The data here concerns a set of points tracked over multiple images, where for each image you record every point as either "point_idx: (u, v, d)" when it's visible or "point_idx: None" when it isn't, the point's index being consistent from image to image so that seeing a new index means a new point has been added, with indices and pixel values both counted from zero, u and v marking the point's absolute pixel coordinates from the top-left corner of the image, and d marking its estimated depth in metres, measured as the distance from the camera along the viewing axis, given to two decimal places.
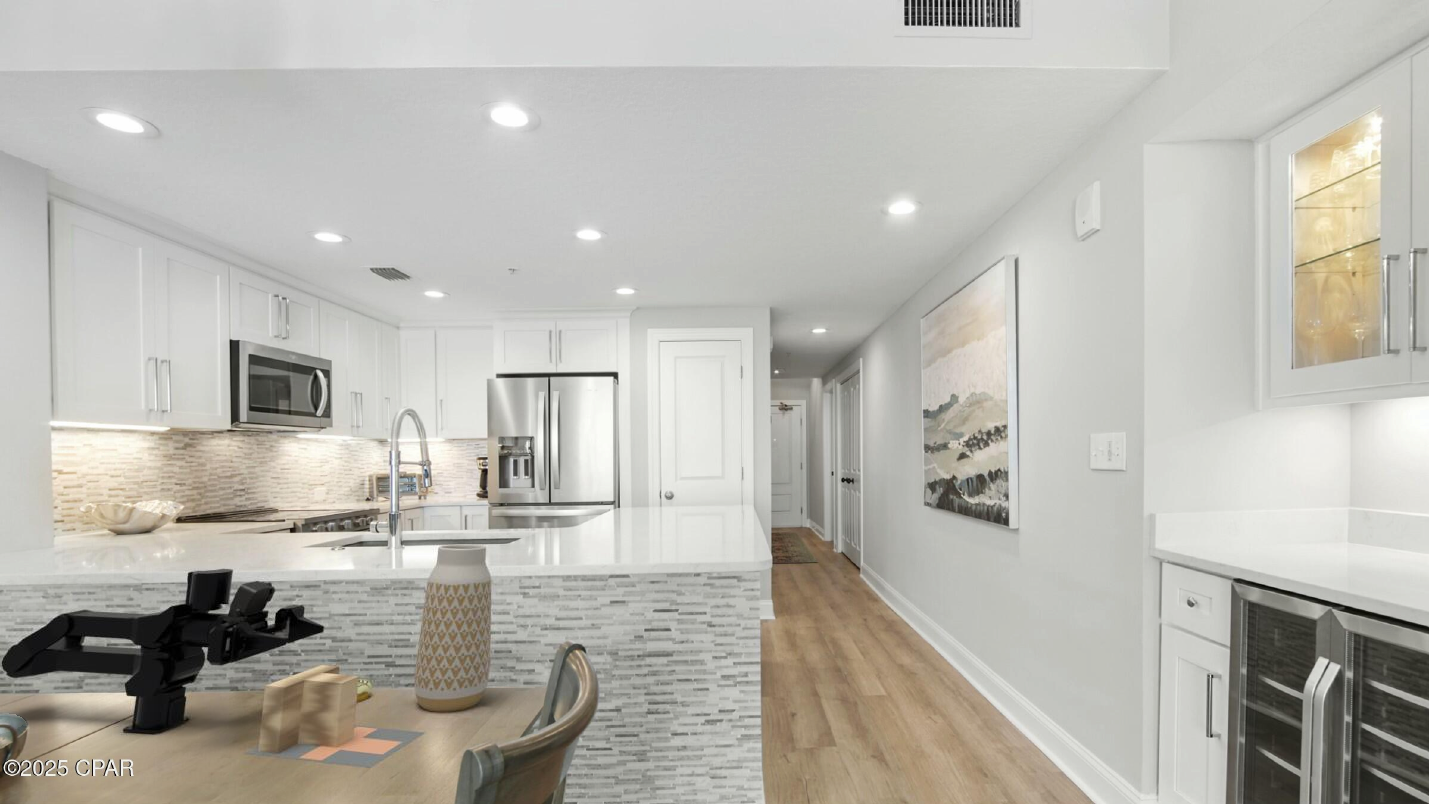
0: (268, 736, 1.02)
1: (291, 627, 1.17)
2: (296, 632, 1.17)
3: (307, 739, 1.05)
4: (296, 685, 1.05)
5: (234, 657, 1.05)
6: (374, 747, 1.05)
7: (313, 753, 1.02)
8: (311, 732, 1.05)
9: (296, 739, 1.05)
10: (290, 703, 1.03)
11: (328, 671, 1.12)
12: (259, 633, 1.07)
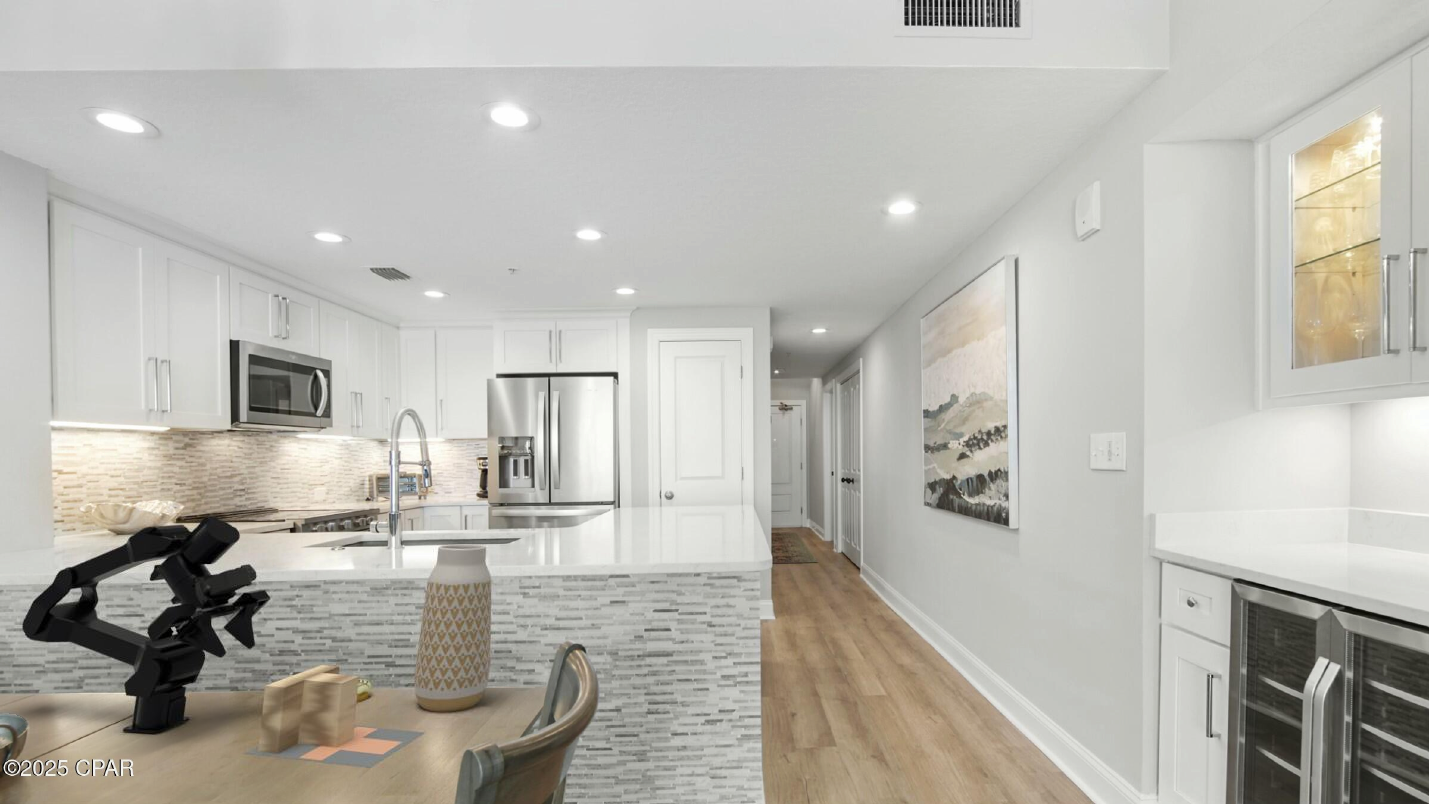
0: (268, 736, 1.02)
1: (235, 619, 1.16)
2: (234, 627, 1.15)
3: (307, 739, 1.05)
4: (296, 685, 1.05)
5: (178, 638, 1.07)
6: (374, 747, 1.05)
7: (313, 753, 1.02)
8: (311, 732, 1.05)
9: (296, 739, 1.05)
10: (290, 703, 1.03)
11: (328, 671, 1.12)
12: (211, 632, 1.08)
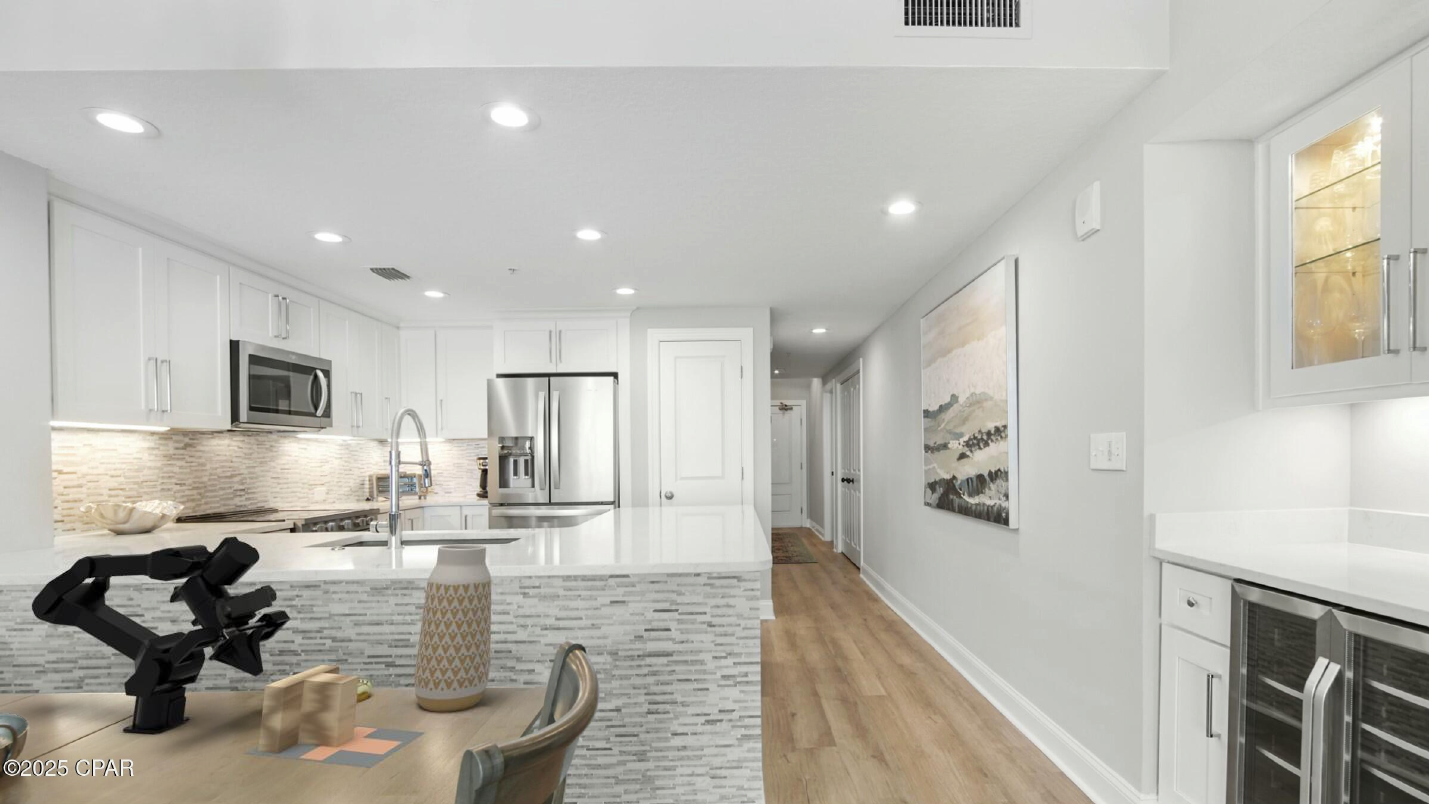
0: (268, 736, 1.02)
1: None
2: None
3: (307, 739, 1.05)
4: (296, 685, 1.05)
5: (214, 657, 1.08)
6: (374, 747, 1.05)
7: (313, 753, 1.02)
8: (311, 732, 1.05)
9: (296, 739, 1.05)
10: (290, 703, 1.03)
11: (328, 671, 1.12)
12: (246, 651, 1.10)
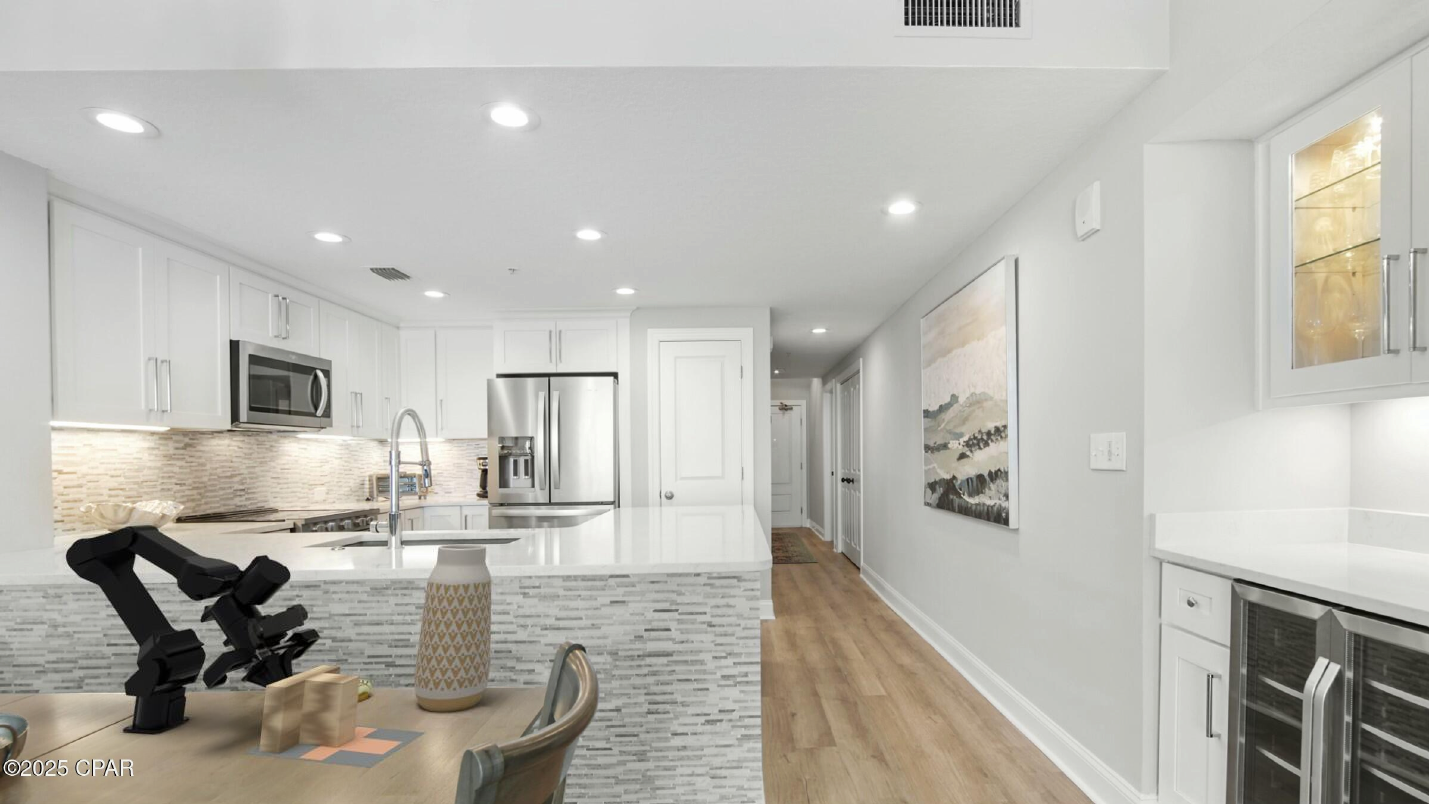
0: (269, 736, 1.02)
1: None
2: None
3: (309, 739, 1.05)
4: (297, 685, 1.05)
5: (247, 678, 1.07)
6: (374, 747, 1.05)
7: (313, 753, 1.02)
8: (312, 732, 1.05)
9: (297, 739, 1.05)
10: (291, 703, 1.03)
11: (329, 671, 1.12)
12: (279, 671, 1.08)
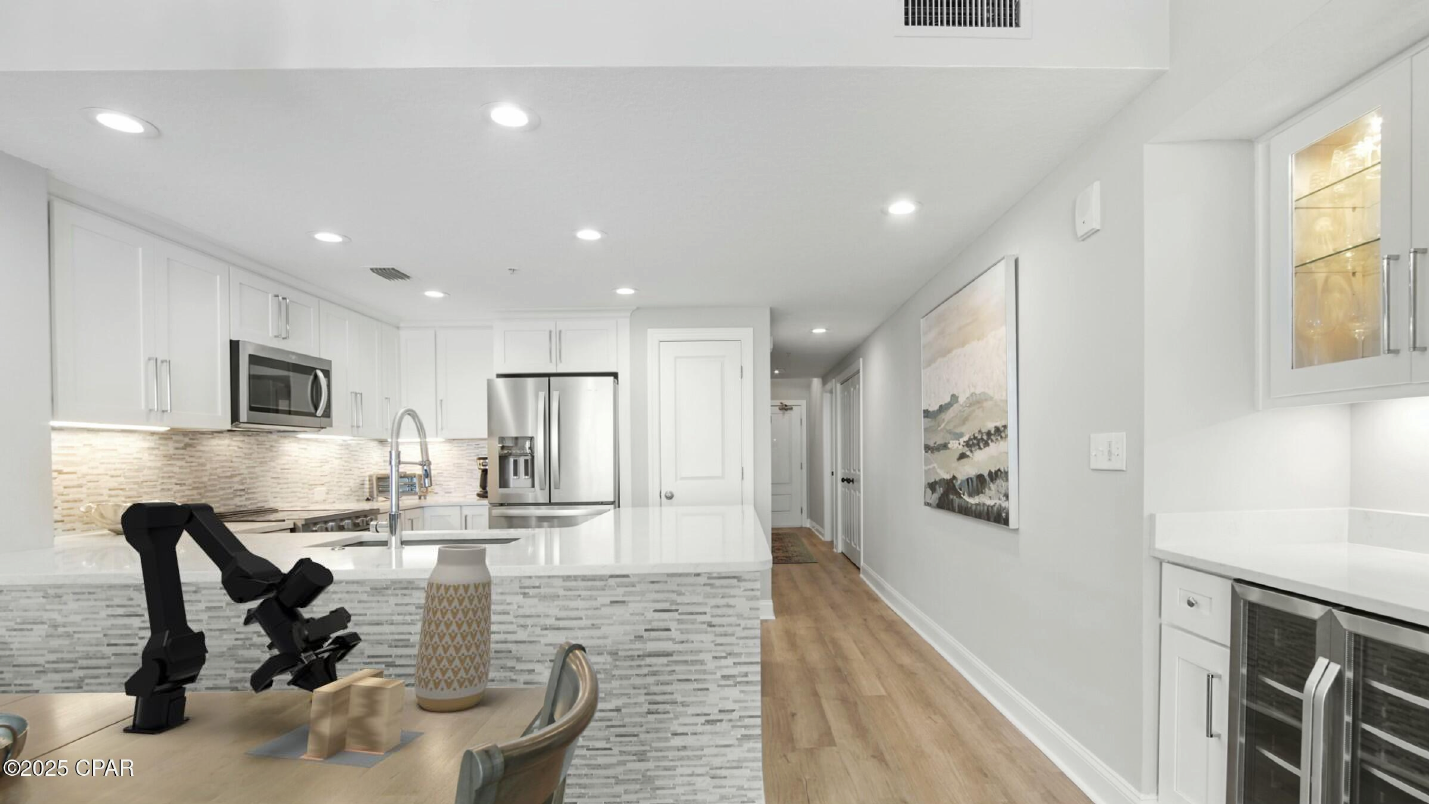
0: (317, 741, 1.00)
1: None
2: None
3: (355, 744, 1.03)
4: (344, 690, 1.03)
5: (292, 682, 1.05)
6: None
7: None
8: (358, 737, 1.04)
9: (344, 744, 1.03)
10: (338, 708, 1.02)
11: (373, 675, 1.10)
12: (324, 675, 1.07)
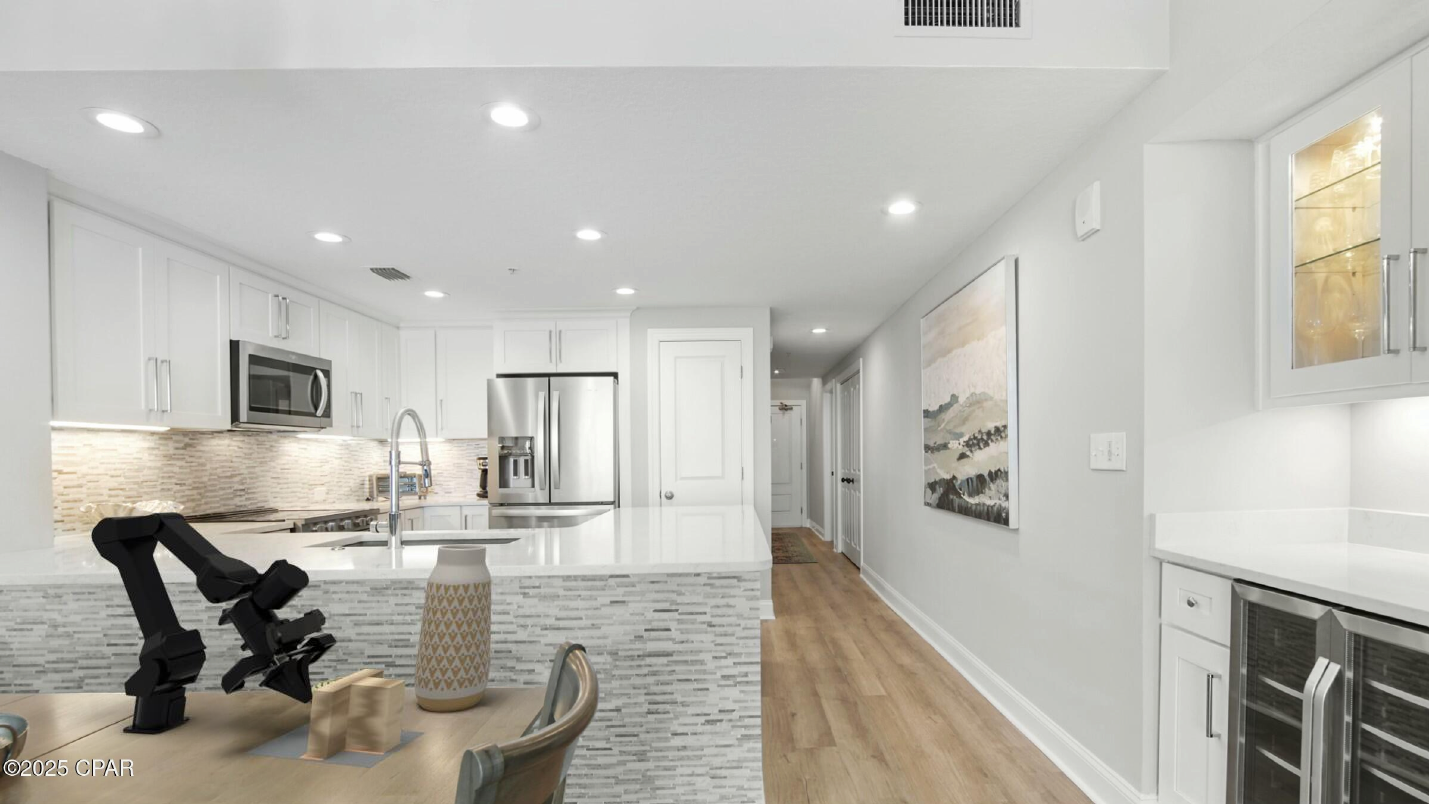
0: (317, 741, 1.00)
1: None
2: None
3: (355, 744, 1.03)
4: (344, 690, 1.03)
5: (265, 684, 1.06)
6: None
7: None
8: (358, 737, 1.04)
9: (344, 744, 1.03)
10: (338, 708, 1.02)
11: (373, 675, 1.10)
12: (296, 677, 1.08)
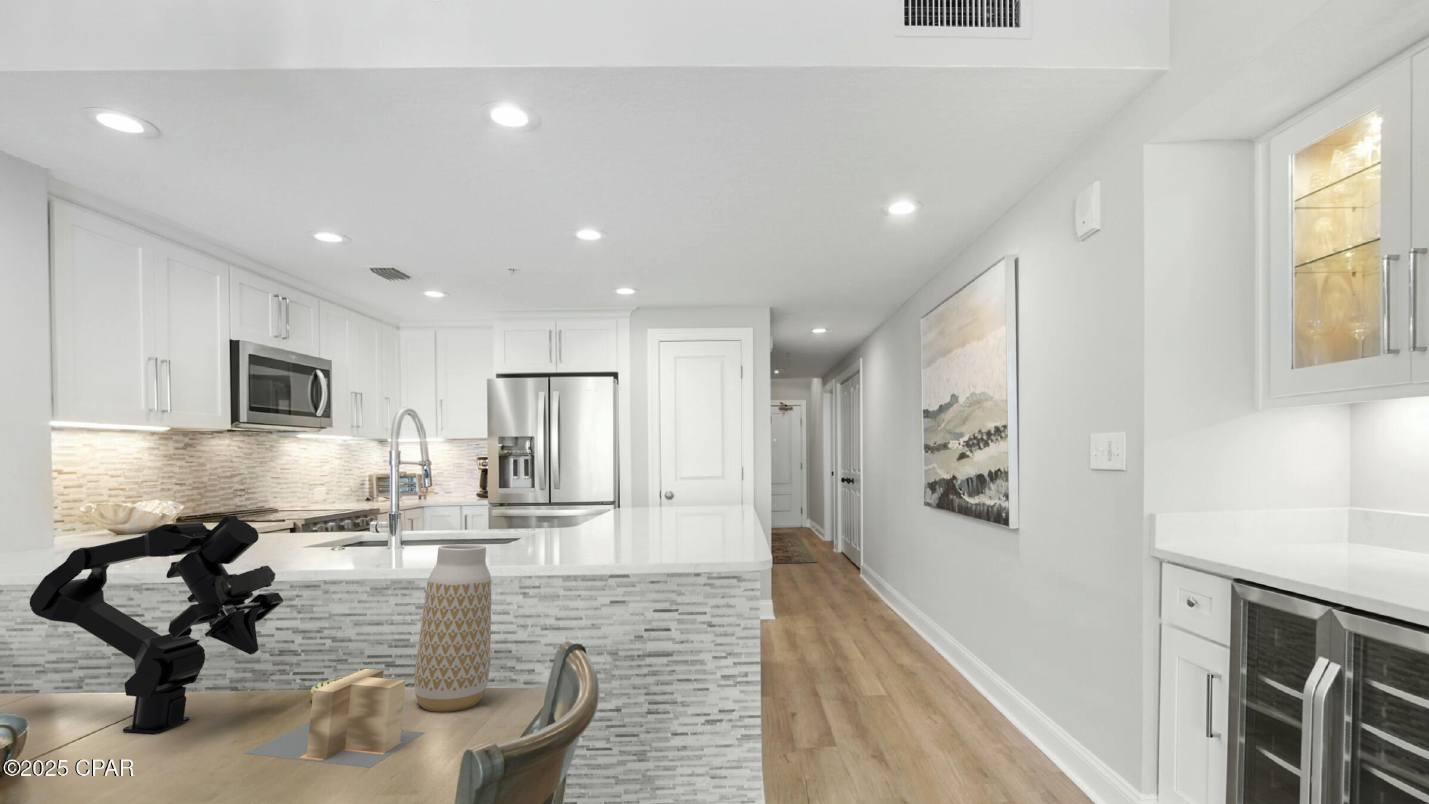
0: (317, 741, 1.00)
1: None
2: None
3: (355, 744, 1.03)
4: (344, 690, 1.03)
5: (211, 633, 1.09)
6: None
7: None
8: (358, 737, 1.04)
9: (344, 744, 1.03)
10: (338, 708, 1.02)
11: (373, 675, 1.10)
12: (243, 629, 1.11)
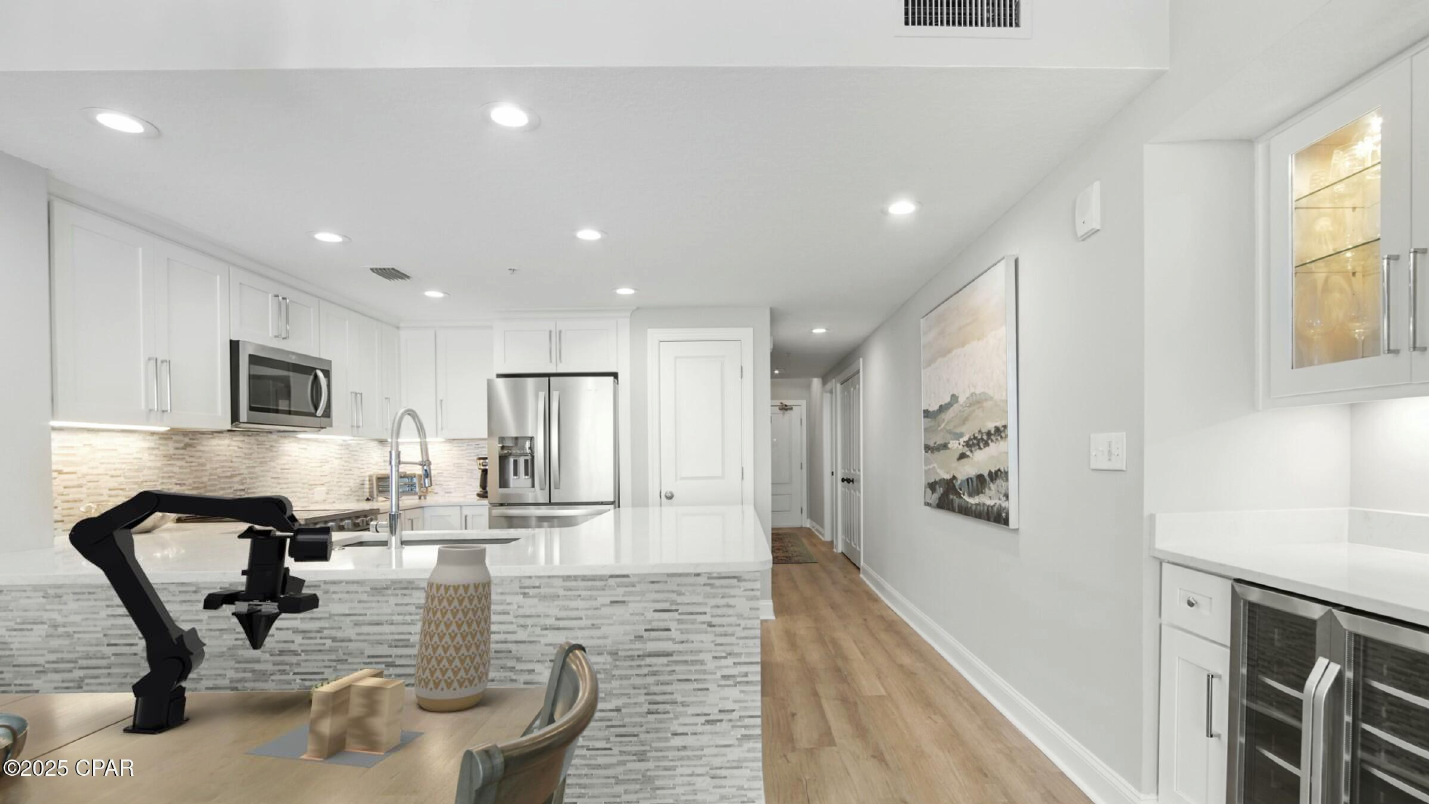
0: (317, 741, 1.00)
1: (256, 613, 1.19)
2: None
3: (355, 744, 1.03)
4: (344, 690, 1.03)
5: None
6: None
7: None
8: (358, 737, 1.04)
9: (344, 744, 1.03)
10: (338, 708, 1.02)
11: (373, 675, 1.10)
12: None
